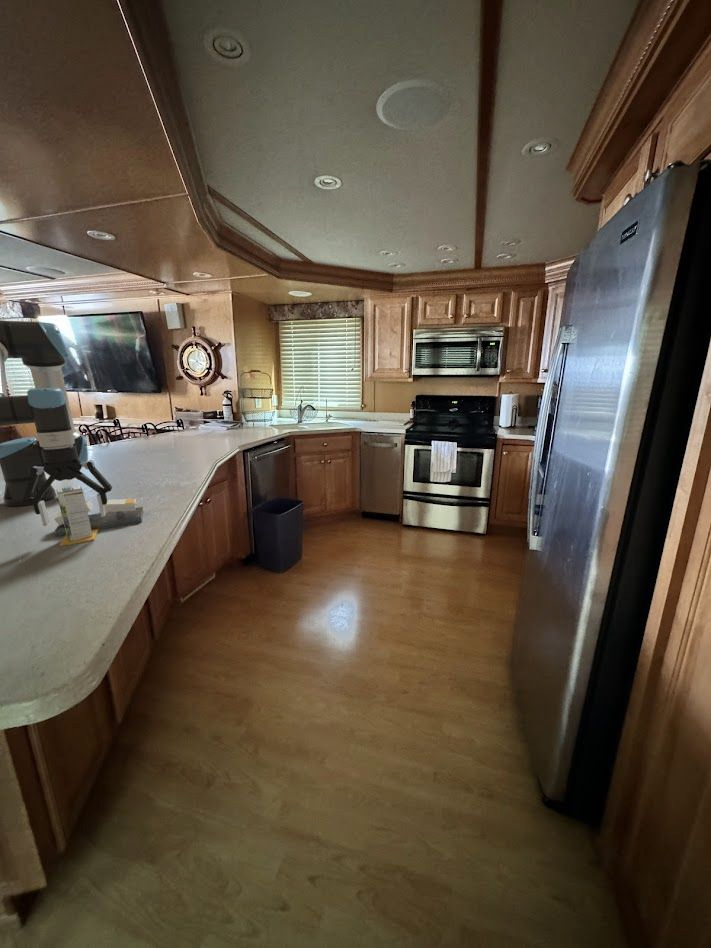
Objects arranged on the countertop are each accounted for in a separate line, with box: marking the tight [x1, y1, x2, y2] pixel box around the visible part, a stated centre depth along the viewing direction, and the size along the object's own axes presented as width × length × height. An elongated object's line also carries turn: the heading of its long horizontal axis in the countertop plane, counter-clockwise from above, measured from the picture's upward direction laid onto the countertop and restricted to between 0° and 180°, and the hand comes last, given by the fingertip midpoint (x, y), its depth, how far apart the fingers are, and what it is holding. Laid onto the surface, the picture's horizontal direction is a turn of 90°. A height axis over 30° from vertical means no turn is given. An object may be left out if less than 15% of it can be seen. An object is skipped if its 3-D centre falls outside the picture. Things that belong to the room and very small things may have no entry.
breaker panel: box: [54, 506, 144, 537], centre depth 118 cm, size 10×22×4 cm, turn 116°
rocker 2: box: [104, 498, 137, 512], centre depth 120 cm, size 5×9×3 cm, turn 116°
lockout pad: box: [59, 529, 100, 547], centre depth 109 cm, size 8×8×1 cm
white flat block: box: [53, 499, 94, 526], centre depth 115 cm, size 5×9×2 cm, turn 116°
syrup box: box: [56, 485, 93, 542], centre depth 107 cm, size 6×6×14 cm
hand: (75, 519), depth 107 cm, fingers open, 13 cm apart
